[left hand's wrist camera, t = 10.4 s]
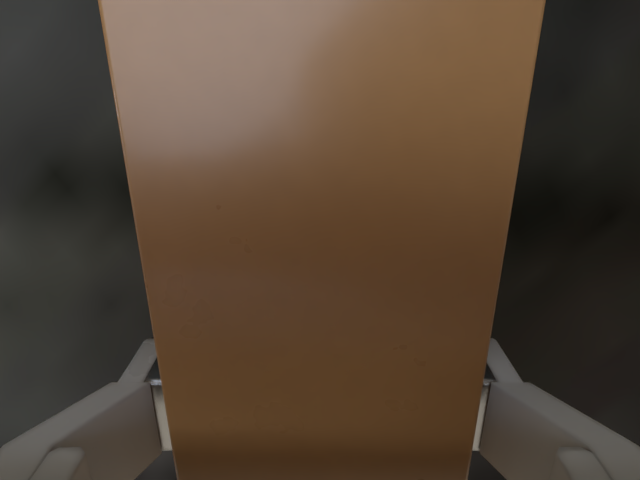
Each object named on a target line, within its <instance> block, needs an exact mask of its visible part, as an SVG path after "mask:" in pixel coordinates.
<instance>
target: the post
mask: <svg viewBox="0 0 640 480" xmlns="http://www.w3.org/2000/svg"><path fill="white" fill-rule="evenodd" d="M545 2H546V0H98V4H99V10H100V16H101V22H102V28H103V34H104V40H105V46H106V52H107V58H108V64H109V70H110V76H111V82H112V88H113V94H114V100H115V106H116V112H117V119H118V125H119V131H120V137H121V143H122V149H123V155H124V161H125V167H126V173H127V179H128V185H129V191H130V197H131V203H132V209H133V215H134V221H135V227H136V234H137V240H138V246H139V252H140V258H141V264H142V270H143V276H144V282H145V288H146V294H147V300H148V306H149V312H150V318H151V324H152V330H153V336H154V342H155V349H156V355H157V361H158V367H159V373H160V379H161V385H162V391H163V397H164V403H165V409H166V415H167V421H168V427H169V433H170V439H171V445H172V451H173V458H174V464H175V470H176V476H177V480H468V473H469V467H470V461H471V455H472V449H473V443H474V437H475V431H476V424H477V418H478V412H479V406H480V400H481V394H482V388H483V382H484V375H485V369H486V363H487V357H488V351H489V345H490V339H491V332H492V326H493V320H494V314H495V308H496V302H497V296H498V290H499V283H500V277H501V271H502V265H503V259H504V253H505V247H506V241H507V234H508V228H509V222H510V216H511V210H512V204H513V198H514V192H515V185H516V179H517V173H518V167H519V161H520V155H521V149H522V142H523V136H524V130H525V124H526V118H527V112H528V106H529V100H530V93H531V87H532V81H533V75H534V69H535V63H536V57H537V51H538V44H539V38H540V32H541V26H542V20H543V14H544V8H545Z"/></svg>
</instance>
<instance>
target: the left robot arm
mask: <svg viewBox="0 0 640 480" xmlns="http://www.w3.org/2000/svg"><path fill="white" fill-rule="evenodd" d="M168 450H172V445H171V439H170V433H169V427H168V421H167V415H166V409H165V403H164V397H163V391H162V385H161V379H160V373H159V367H158V361H157V355H156V349H155V342H154V338H148V339H146V340H144V341H143V343H142V344H141V346H140V348H139V349H138V351H137V352H136V354H135V356H134V357H133V359H132V360H131V362H130V363H129V365H128V367H127V368H126V370H125V371H124V373H123V375H122V376H121V378H120V379H119V381H118V382H111V383H109V384H107V385H106V386H104V387H102V388H100V389H99V390H97V391H95V392H94V393H92V394H90V395H88V396H87V397H85V398H83V399H82V400H80V401H78V402H76V403H75V404H73V405H71V406H70V407H68V408H66V409H64V410H63V411H61V412H59V413H58V414H56V415H54V416H52V417H51V418H49V419H47V420H45V421H44V422H42V423H40V424H39V425H37V426H35V427H33V428H32V429H30V430H28V431H27V432H25V433H23V434H21V435H20V436H18V437H16V438H15V439H13V440H11V441H9V442H8V443H6V444H4V445H3V446H2V447H1V448H0V480H134V479H135V478H136V477H137V476H138V475H139V474H141V473H142V472H143V471H144V470H145V469H146V468H147V467H148V466H149V465H150V464H151V463H152V462H153V461H154V460H155V459H156V458H157V457H158V456H159V455H160V454H161V453H162V452H161V451H168ZM472 451H479V453H480V454H481V455H482V456H483V457H484V458H485V459H486V460H487V461H488V462H489V463H490V464H491V465H492V466H493V467H494V468H495V469H496V470H497V471H498V472H499V473H500V474H501V475H503V476H504V477H505V478H506V479H507V480H640V447H639V446H638V445H636V444H635V443H633V442H631V441H630V440H628V439H626V438H624V437H623V436H621V435H619V434H618V433H616V432H614V431H612V430H611V429H609V428H607V427H606V426H604V425H602V424H600V423H599V422H597V421H595V420H593V419H592V418H590V417H588V416H587V415H585V414H583V413H581V412H580V411H578V410H576V409H575V408H573V407H571V406H569V405H568V404H566V403H564V402H563V401H561V400H559V399H557V398H556V397H554V396H552V395H551V394H549V393H547V392H545V391H544V390H542V389H540V388H539V387H537V386H535V385H533V384H532V383H530V382H523V381H522V380H521V378H520V377H519V375H518V373H517V372H516V370H515V369H514V367H513V366H512V364H511V363H510V361H509V359H508V358H507V356H506V355H505V353H504V352H503V350H502V348H501V347H500V345H499V344H498V342H497V341H496V340H495V339H493V338H491V339H490V345H489V351H488V357H487V363H486V369H485V375H484V382H483V388H482V394H481V400H480V406H479V412H478V418H477V424H476V431H475V437H474V443H473V449H472Z"/></svg>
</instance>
